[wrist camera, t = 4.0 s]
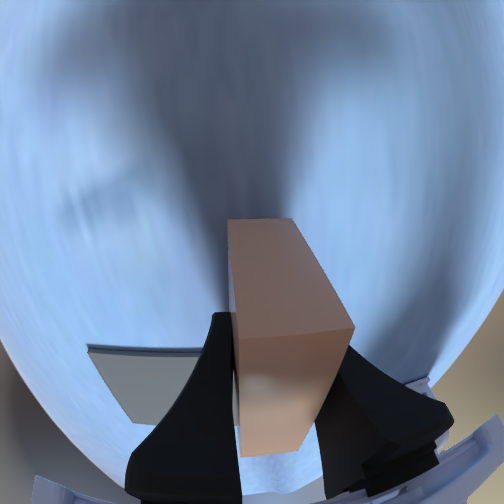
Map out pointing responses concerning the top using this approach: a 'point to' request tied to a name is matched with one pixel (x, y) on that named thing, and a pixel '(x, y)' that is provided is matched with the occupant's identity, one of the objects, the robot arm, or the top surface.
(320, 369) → the block
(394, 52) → the top surface
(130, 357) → the mat
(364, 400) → the robot arm
